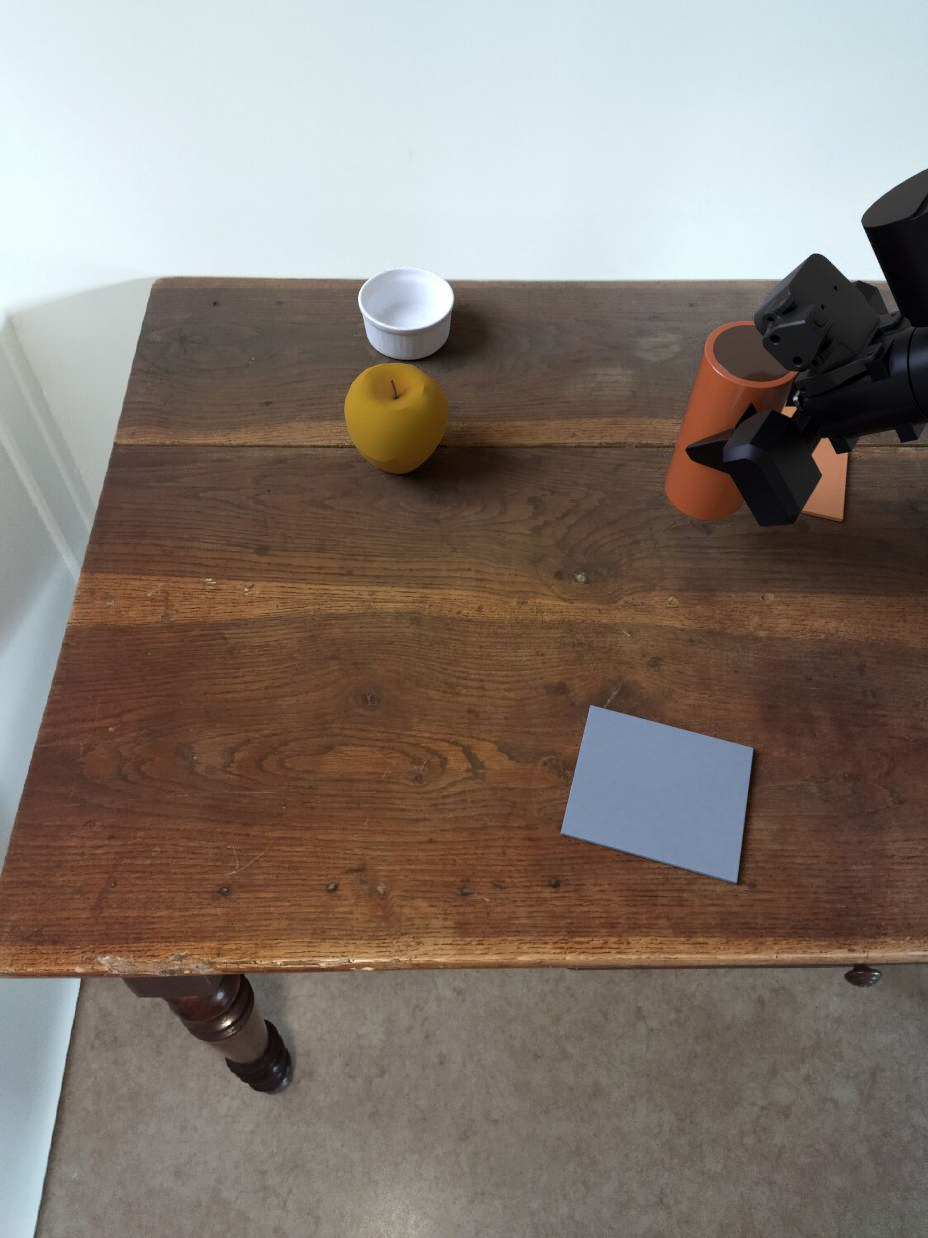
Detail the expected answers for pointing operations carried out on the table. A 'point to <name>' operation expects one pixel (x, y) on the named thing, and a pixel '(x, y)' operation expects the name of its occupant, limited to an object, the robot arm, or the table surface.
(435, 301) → the ramekin
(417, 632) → the table surface
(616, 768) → the slate mat
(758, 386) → the terracotta pot
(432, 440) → the apple
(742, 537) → the table surface
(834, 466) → the terracotta mat
